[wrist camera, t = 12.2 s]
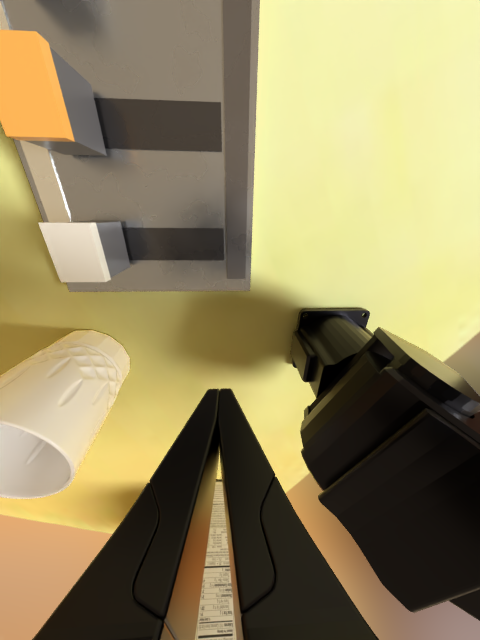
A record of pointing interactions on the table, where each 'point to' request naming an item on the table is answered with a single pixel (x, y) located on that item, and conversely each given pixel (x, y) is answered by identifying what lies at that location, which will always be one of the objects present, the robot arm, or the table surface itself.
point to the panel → (157, 134)
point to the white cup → (56, 411)
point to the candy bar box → (216, 579)
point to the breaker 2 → (86, 249)
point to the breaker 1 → (46, 97)
